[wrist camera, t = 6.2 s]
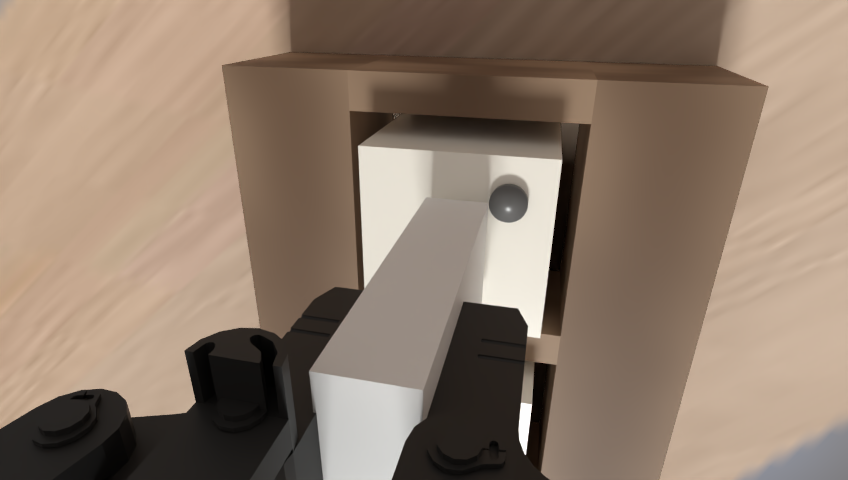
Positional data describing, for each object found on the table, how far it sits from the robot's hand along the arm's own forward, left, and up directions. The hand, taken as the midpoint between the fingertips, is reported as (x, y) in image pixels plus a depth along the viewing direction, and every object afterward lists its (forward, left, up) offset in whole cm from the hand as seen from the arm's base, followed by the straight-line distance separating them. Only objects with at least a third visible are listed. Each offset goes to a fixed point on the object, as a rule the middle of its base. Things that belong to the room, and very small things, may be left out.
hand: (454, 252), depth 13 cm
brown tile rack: (0, -7, -6) cm, 9 cm away
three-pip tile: (0, 0, -5) cm, 5 cm away
